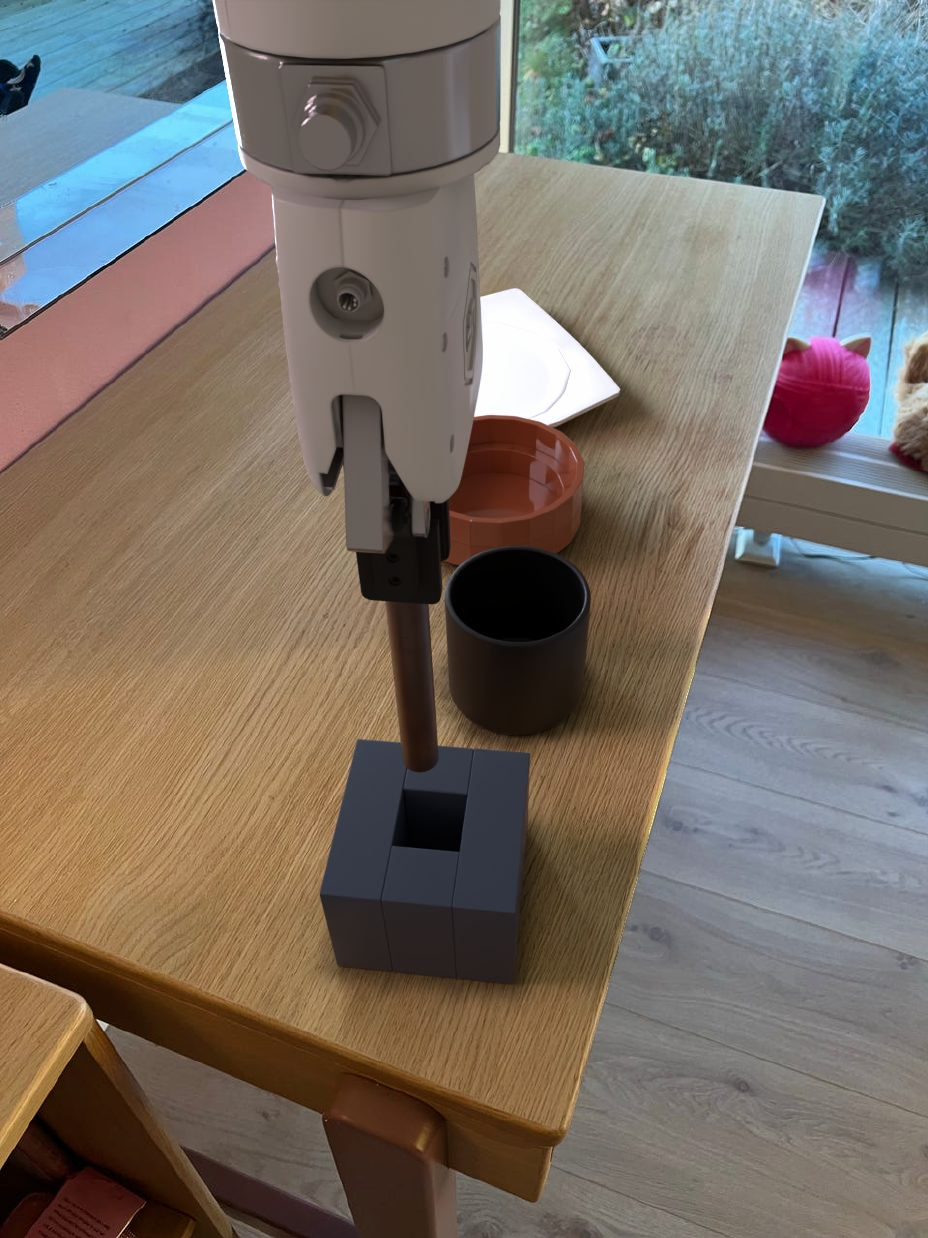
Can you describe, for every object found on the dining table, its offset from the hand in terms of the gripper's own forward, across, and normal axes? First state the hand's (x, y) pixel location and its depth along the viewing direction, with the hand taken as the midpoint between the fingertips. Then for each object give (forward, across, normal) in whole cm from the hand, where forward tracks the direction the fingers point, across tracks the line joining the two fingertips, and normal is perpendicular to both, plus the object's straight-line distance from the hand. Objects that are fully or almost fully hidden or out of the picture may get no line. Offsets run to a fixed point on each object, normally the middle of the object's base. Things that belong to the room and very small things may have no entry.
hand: (407, 573), depth 41 cm
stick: (+13, 0, 0) cm, 13 cm away
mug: (+26, +18, -4) cm, 32 cm away
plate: (+26, +55, +5) cm, 61 cm away
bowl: (+26, +35, 0) cm, 44 cm away
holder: (+26, 0, 0) cm, 26 cm away
